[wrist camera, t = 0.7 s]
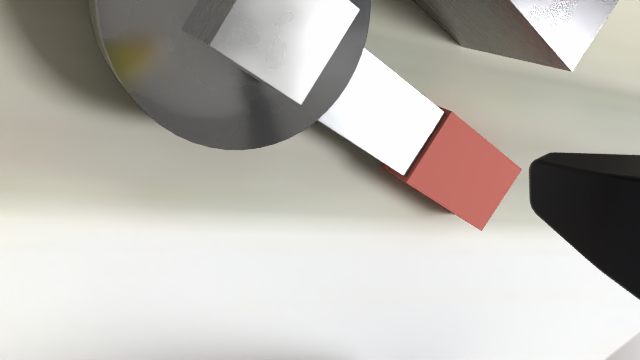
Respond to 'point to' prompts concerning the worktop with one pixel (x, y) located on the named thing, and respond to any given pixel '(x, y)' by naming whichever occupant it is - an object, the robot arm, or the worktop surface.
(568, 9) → the brushed grey cube
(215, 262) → the worktop surface
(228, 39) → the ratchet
